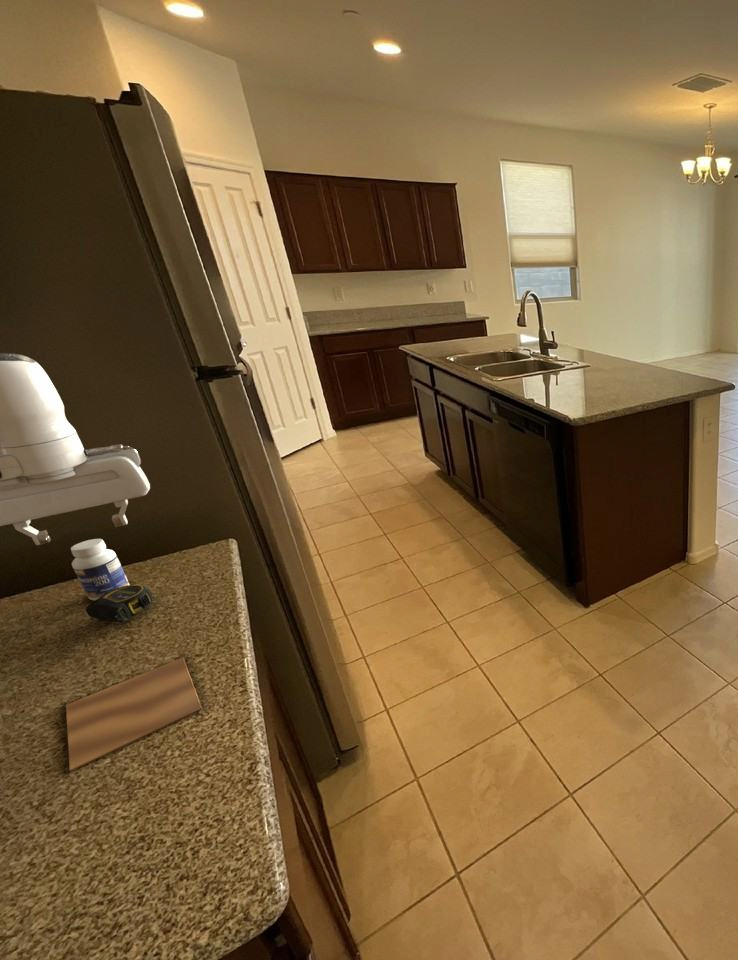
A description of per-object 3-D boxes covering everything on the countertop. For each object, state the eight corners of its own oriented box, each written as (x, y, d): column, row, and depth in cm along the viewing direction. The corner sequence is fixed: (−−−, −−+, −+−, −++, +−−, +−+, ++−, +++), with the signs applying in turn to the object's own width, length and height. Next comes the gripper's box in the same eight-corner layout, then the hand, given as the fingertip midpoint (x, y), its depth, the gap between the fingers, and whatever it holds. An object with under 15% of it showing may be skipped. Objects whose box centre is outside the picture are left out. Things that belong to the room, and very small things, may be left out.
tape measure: (89, 623, 84) (79, 604, 82) (136, 598, 90) (127, 580, 88) (121, 629, 82) (111, 609, 81) (166, 603, 88) (158, 585, 87)
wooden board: (66, 706, 68) (65, 704, 68) (183, 658, 76) (183, 657, 76) (70, 771, 59) (69, 769, 59) (202, 709, 67) (201, 708, 67)
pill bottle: (80, 603, 89) (55, 554, 85) (102, 586, 94) (79, 538, 90) (118, 599, 90) (94, 550, 86) (137, 582, 95) (116, 535, 91)
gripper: (134, 437, 90) (165, 509, 96) (-46, 466, 79) (0, 546, 84) (131, 446, 86) (163, 520, 91) (-60, 478, 74) (-11, 562, 79)
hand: (84, 533), depth 87 cm, fingers open, 8 cm apart
